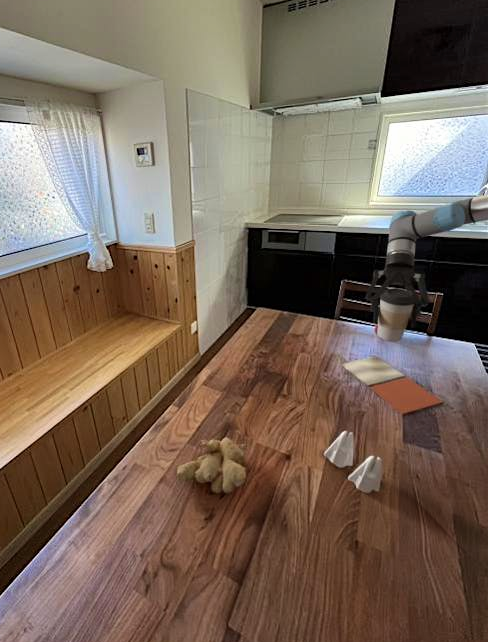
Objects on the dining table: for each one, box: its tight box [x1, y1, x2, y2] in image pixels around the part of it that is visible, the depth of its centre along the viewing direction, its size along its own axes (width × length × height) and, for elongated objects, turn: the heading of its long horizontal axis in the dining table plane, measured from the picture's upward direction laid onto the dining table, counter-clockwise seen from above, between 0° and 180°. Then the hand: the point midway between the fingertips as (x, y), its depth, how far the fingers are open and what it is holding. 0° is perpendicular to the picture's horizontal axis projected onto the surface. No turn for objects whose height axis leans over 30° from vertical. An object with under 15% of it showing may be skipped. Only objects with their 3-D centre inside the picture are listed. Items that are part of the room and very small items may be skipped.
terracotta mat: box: [369, 377, 444, 415], centre depth 99 cm, size 12×14×1 cm
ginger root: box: [176, 437, 248, 494], centre depth 78 cm, size 16×16×8 cm
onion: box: [374, 323, 382, 340], centre depth 126 cm, size 6×6×8 cm
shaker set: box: [323, 430, 383, 494], centre depth 74 cm, size 12×4×11 cm, turn 30°
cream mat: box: [341, 355, 406, 387], centre depth 110 cm, size 12×14×1 cm
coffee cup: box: [376, 288, 415, 343], centre depth 102 cm, size 9×9×15 cm
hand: (393, 324), depth 100 cm, fingers closed on coffee cup, 9 cm apart
